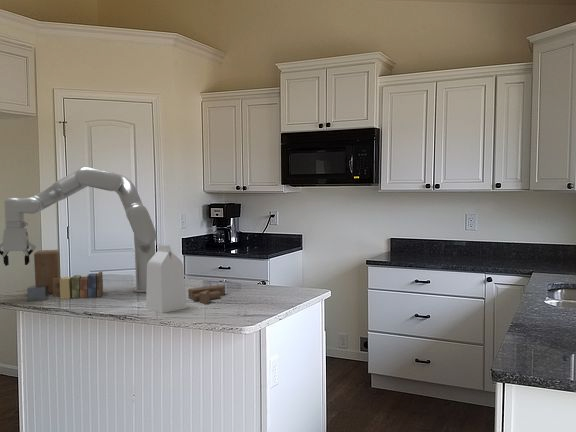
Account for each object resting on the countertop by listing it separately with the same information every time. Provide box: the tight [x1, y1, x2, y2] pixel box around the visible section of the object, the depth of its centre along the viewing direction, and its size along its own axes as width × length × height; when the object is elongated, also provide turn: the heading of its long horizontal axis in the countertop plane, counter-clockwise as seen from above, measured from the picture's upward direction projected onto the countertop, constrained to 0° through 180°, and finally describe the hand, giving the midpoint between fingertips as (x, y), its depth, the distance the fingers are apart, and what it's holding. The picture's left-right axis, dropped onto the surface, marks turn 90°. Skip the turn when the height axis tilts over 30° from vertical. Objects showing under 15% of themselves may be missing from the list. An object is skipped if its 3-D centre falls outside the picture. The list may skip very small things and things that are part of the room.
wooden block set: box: [187, 284, 226, 305], centre depth 240 cm, size 17×6×18 cm
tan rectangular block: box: [59, 276, 73, 300], centre depth 249 cm, size 4×6×9 cm, turn 11°
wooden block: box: [33, 249, 61, 295], centre depth 262 cm, size 10×10×20 cm
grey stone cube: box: [26, 285, 50, 302], centre depth 246 cm, size 8×6×6 cm
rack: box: [52, 271, 104, 300], centre depth 252 cm, size 22×12×10 cm, turn 102°
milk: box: [145, 243, 188, 314], centre depth 222 cm, size 12×12×26 cm
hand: (16, 264), depth 244 cm, fingers open, 7 cm apart
